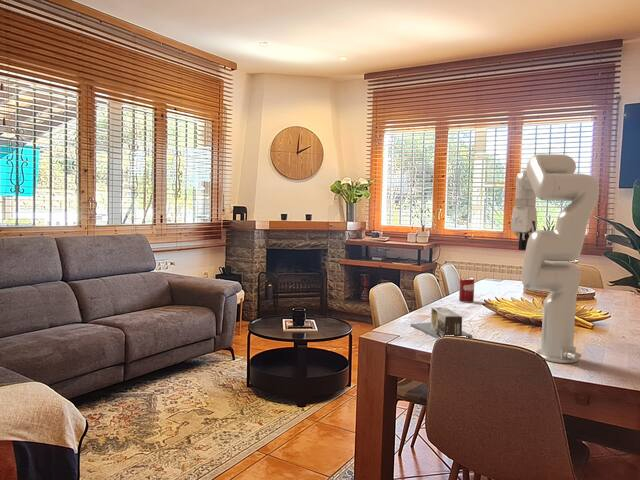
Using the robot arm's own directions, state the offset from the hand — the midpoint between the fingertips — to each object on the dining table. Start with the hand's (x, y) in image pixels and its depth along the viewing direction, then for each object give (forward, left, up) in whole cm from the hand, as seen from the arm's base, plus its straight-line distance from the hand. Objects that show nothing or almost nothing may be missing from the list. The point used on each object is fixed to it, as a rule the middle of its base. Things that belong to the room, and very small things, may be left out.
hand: (523, 249), depth 199 cm
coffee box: (+4, +35, -27) cm, 44 cm away
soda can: (+56, -13, -32) cm, 66 cm away
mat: (+5, +34, -32) cm, 47 cm away
